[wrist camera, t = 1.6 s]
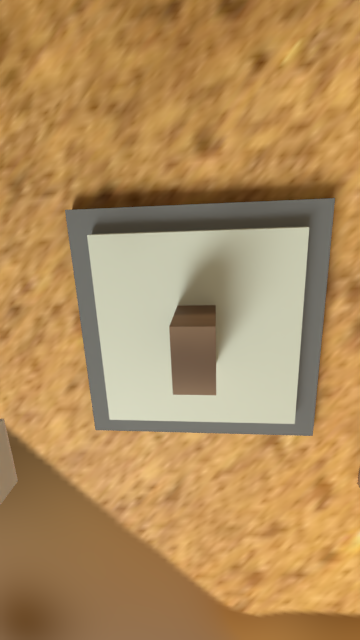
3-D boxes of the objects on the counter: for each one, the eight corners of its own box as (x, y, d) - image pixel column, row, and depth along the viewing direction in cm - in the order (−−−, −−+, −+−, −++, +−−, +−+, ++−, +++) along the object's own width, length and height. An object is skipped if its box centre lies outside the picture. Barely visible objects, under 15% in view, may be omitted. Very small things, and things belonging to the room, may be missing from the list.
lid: (91, 234, 21) (58, 241, 17) (305, 226, 20) (332, 232, 16) (112, 413, 26) (90, 458, 21) (292, 417, 24) (309, 465, 20)
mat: (71, 209, 22) (65, 209, 21) (329, 198, 20) (334, 198, 19) (99, 422, 27) (95, 429, 26) (308, 427, 25) (312, 435, 24)
